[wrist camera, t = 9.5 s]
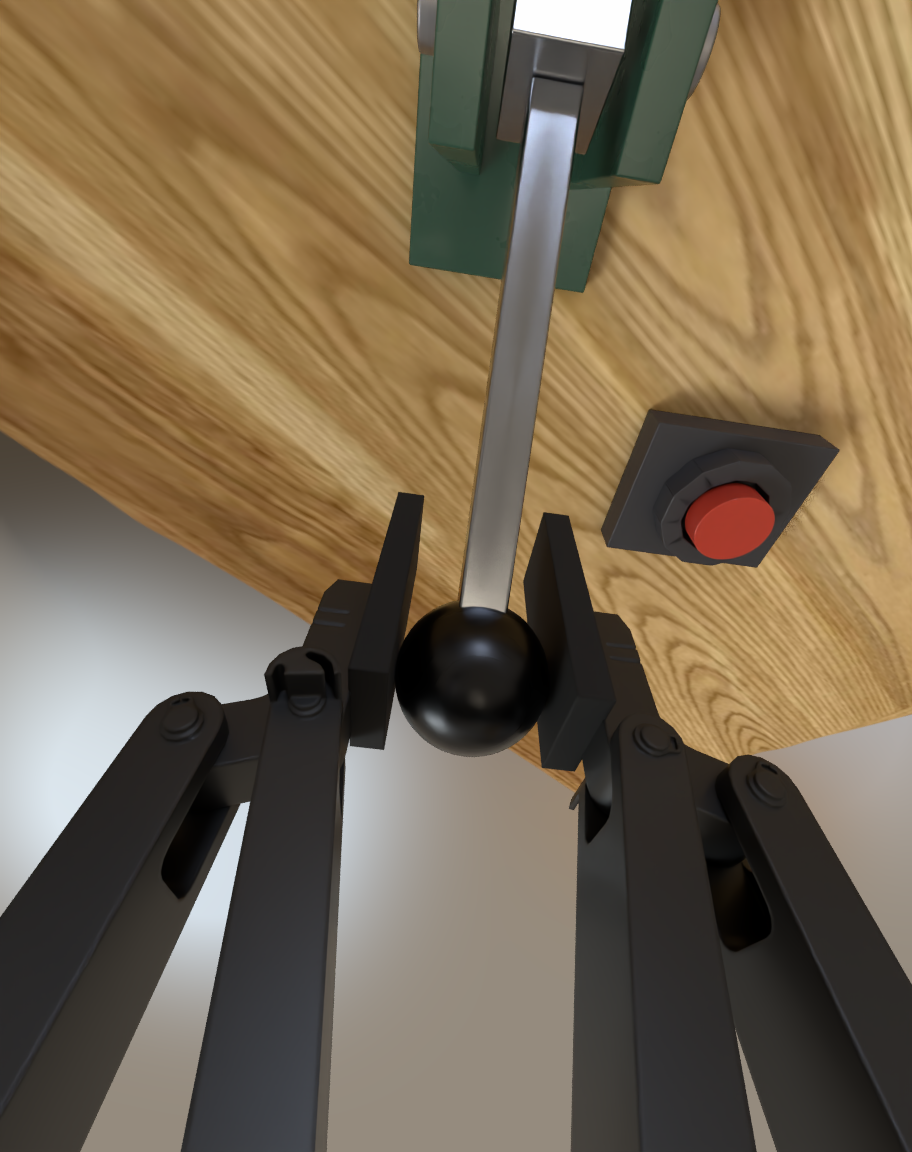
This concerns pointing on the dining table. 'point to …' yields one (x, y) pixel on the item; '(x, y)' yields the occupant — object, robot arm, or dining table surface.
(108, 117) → the dining table surface
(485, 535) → the lever
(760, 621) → the dining table surface
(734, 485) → the button
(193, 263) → the dining table surface
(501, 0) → the bracket
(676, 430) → the button box
